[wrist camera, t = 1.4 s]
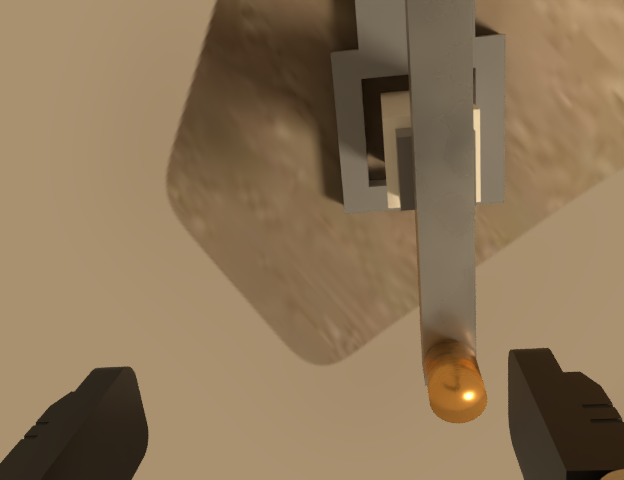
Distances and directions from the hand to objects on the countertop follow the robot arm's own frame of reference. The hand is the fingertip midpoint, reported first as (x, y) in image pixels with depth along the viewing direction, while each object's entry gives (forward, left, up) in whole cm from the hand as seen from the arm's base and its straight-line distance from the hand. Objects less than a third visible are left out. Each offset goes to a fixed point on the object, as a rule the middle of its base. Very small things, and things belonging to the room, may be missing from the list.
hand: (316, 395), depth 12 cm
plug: (-1, +4, -24) cm, 24 cm away
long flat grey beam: (-3, +4, -11) cm, 12 cm away
